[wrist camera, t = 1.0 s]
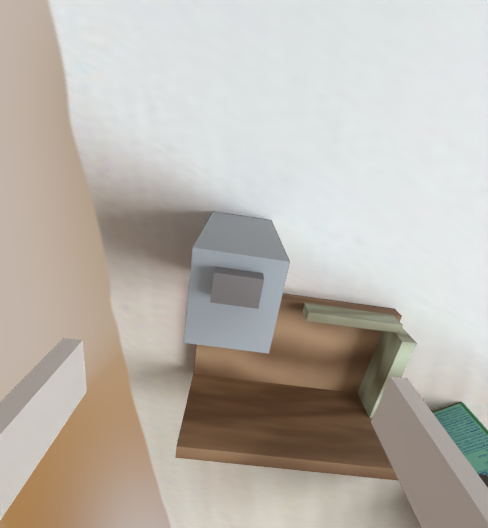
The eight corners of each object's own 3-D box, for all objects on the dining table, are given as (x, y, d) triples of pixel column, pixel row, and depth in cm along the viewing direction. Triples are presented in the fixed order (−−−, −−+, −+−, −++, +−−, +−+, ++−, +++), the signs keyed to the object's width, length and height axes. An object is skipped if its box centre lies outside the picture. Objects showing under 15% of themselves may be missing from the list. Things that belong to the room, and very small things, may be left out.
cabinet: (213, 211, 28) (189, 252, 16) (271, 220, 28) (292, 267, 16) (205, 274, 30) (180, 352, 18) (259, 281, 31) (270, 363, 19)
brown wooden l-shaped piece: (204, 282, 31) (186, 341, 21) (394, 309, 32) (461, 376, 22) (194, 374, 35) (175, 457, 25) (360, 394, 37) (403, 480, 27)
